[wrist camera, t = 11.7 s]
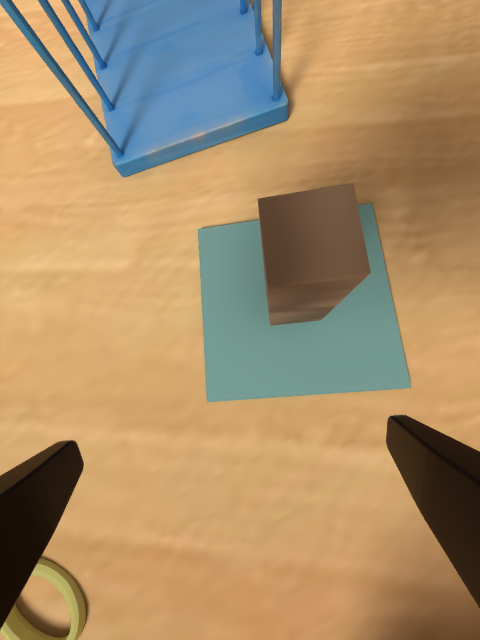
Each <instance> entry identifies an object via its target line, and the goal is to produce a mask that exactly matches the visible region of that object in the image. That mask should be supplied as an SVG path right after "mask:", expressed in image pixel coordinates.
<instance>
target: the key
mask: <svg viewBox="0 0 480 640" xmlns="http://www.w3.org/2000/svg"><path fill="white" fill-rule="evenodd" d="M31 575H36V576H39V577H42V578H45V579H46V580H48V581H49V582H51V583H52V584H53V585H55V586H56V587H57V588H58V590H59V591H60V592H61V593H62V595H63V596H64V598H65V601H66V603H67V605H68V608H69V611H70V615H71V628H70V633H69V635H67V636H65V637H53V636H49V635H47V634H45V633H43V632H41V631H39V630H38V629H36V628H35V627H33V626H32V625H31V624H30V623H29V622H28V621H27V620H26V619H25V618H24V617H23V616H22V615H21V614H20V612H19V610H18V609H17V607H16V605H14V606H13V608H12V610H11V612H10V614H9V616H8V617H7V619H6V621H5V623H4V625H3V626H2V628H1V630H0V631H1V633H2V635H3V636H4V637H5V638H6V639H7V640H78V638H79V636H80V634H81V632H82V630H83V628H84V625H85V621H86V606H85V602H84V598H83V596H82V593H81V591H80V589H79V587H78V585H77V584H76V582H75V581H74V580H73V578H72V577H71V576H70V575H69V574H68V573H67V572H66V571H64V570H63V569H62V568H61V567H59V566H58V565H56V564H54V563H52V562H50V561H48V560H46V559H42V558H40V559H39V561H38V563H37V565H36V567H35V568H34V570H33V572H32V574H31Z"/></svg>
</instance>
